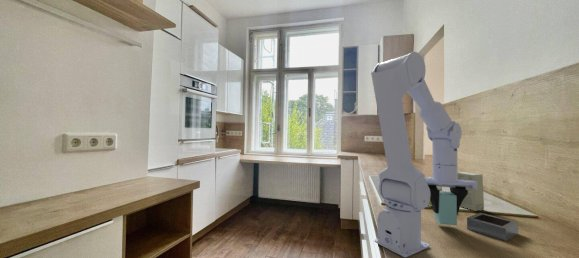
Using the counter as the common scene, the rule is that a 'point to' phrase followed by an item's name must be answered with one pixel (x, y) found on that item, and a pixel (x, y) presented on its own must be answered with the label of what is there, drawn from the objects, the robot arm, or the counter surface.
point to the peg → (447, 208)
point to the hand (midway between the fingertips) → (445, 212)
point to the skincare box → (473, 191)
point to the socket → (492, 226)
